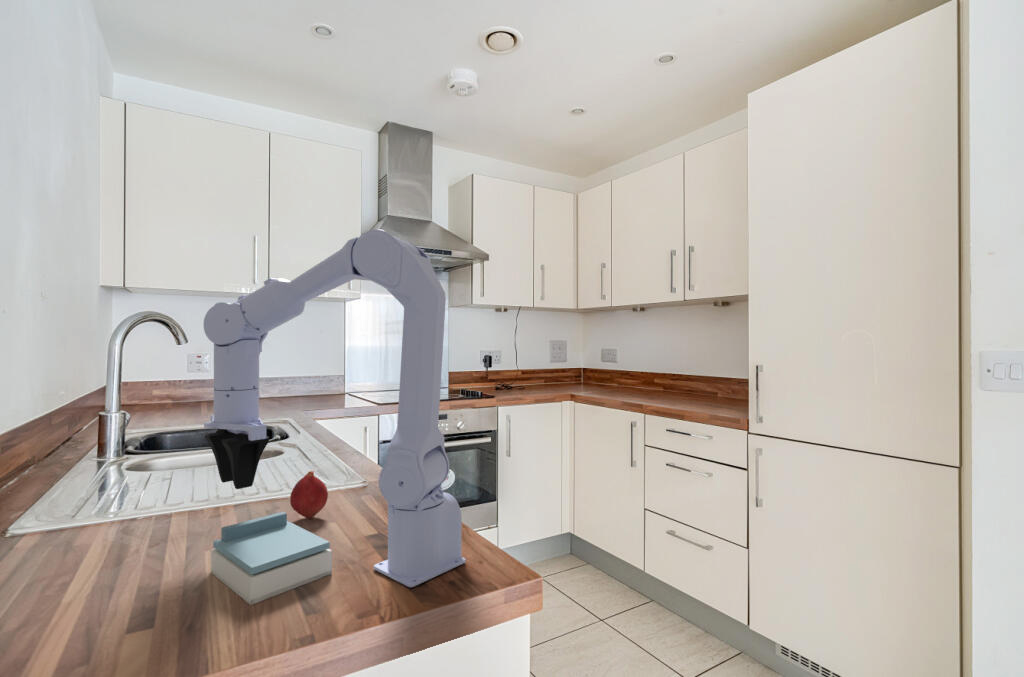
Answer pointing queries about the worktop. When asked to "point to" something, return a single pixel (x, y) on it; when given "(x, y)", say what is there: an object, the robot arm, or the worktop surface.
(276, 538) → the lid
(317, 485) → the onion
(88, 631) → the worktop surface
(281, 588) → the box
